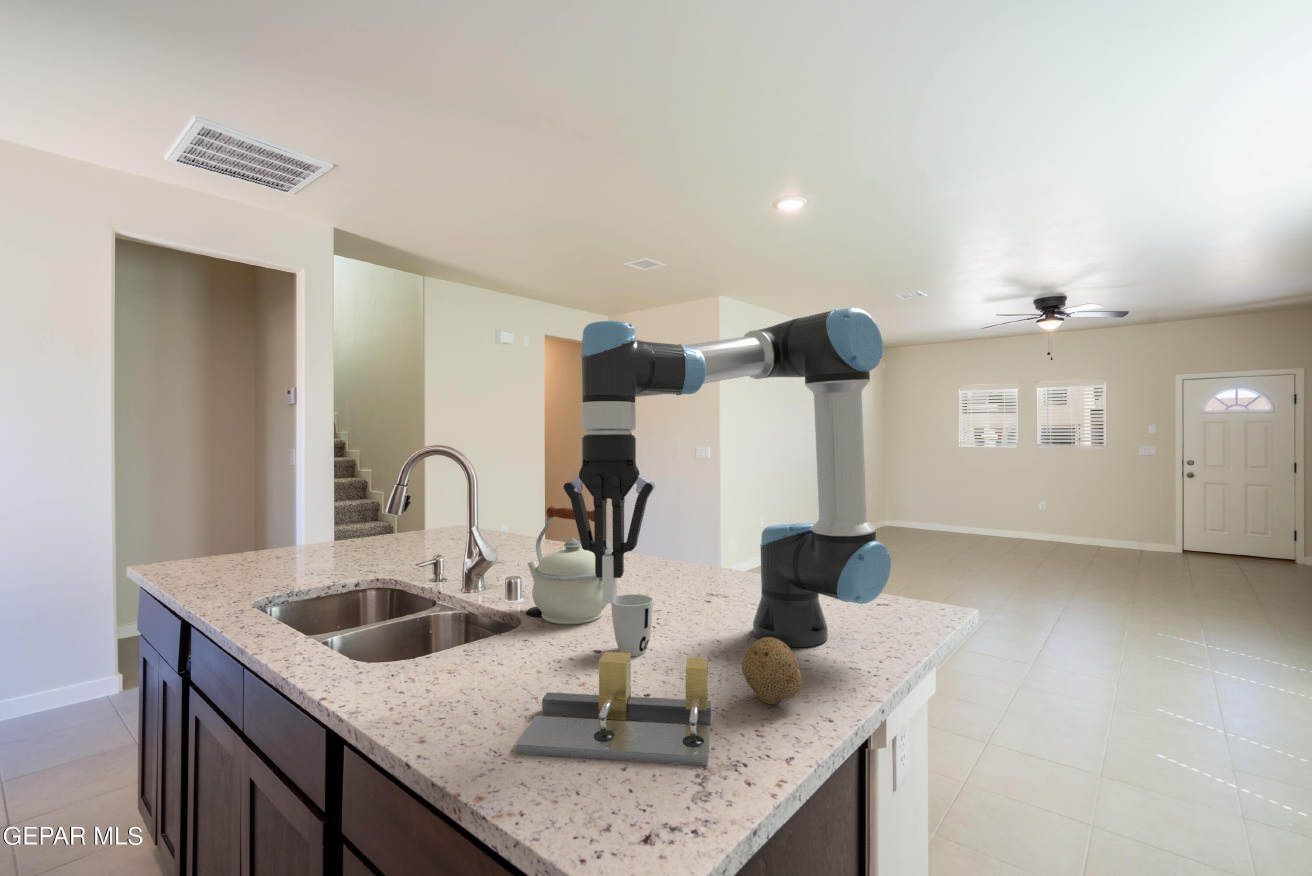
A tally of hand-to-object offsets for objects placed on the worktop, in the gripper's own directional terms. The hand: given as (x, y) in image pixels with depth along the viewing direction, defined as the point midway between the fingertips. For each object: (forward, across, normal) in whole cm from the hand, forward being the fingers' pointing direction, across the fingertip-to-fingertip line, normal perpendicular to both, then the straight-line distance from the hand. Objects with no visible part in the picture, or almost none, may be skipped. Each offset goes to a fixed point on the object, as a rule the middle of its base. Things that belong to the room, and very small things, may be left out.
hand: (609, 600), depth 85 cm
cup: (+19, +2, -31) cm, 36 cm away
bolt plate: (+18, -2, +4) cm, 19 cm away
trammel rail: (+18, -2, -1) cm, 18 cm away
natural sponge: (+19, -23, -12) cm, 32 cm away
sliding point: (+18, 0, -1) cm, 18 cm away
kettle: (+19, +21, -53) cm, 60 cm away
